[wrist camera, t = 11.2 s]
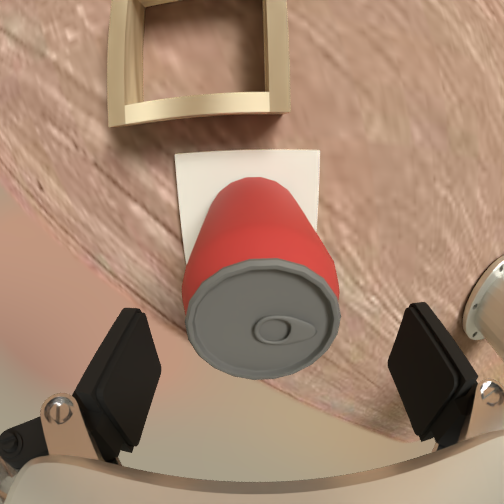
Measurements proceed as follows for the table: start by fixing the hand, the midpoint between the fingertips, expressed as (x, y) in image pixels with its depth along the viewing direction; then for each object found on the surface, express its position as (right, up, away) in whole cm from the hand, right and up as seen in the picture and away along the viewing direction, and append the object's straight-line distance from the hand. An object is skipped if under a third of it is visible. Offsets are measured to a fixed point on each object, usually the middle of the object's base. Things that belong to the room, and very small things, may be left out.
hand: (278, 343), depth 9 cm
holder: (-4, +17, +6) cm, 19 cm away
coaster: (-1, +6, +12) cm, 13 cm away
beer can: (-1, +5, +11) cm, 13 cm away
